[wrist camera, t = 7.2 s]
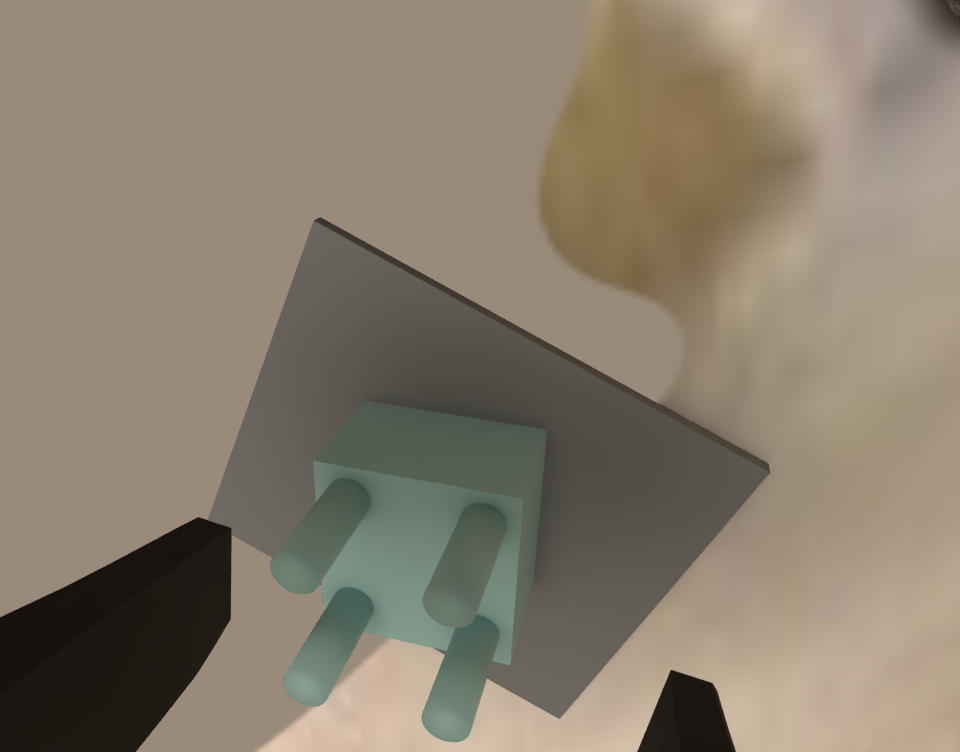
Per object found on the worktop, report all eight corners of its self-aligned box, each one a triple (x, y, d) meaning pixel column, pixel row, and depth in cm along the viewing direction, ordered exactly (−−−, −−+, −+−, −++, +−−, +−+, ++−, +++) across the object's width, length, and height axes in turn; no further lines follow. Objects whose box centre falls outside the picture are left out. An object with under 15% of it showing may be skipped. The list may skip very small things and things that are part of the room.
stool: (547, 429, 21) (495, 580, 15) (533, 581, 23) (483, 761, 18) (365, 400, 22) (252, 530, 16) (369, 548, 24) (272, 706, 19)
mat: (768, 464, 20) (770, 472, 20) (561, 709, 26) (559, 719, 25) (320, 217, 20) (313, 220, 20) (214, 514, 26) (207, 521, 26)
